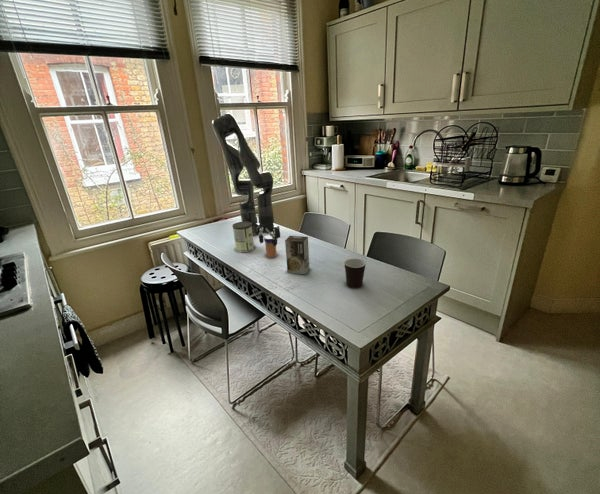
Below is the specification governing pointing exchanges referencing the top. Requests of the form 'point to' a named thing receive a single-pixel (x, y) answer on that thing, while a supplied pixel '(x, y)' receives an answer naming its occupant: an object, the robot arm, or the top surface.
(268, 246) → the jar
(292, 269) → the coffee box
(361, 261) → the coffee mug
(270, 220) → the robot arm
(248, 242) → the coffee can
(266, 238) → the lid
